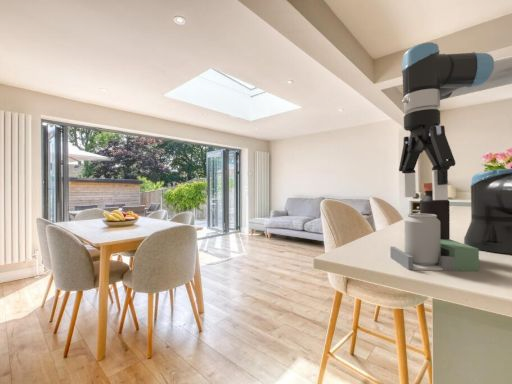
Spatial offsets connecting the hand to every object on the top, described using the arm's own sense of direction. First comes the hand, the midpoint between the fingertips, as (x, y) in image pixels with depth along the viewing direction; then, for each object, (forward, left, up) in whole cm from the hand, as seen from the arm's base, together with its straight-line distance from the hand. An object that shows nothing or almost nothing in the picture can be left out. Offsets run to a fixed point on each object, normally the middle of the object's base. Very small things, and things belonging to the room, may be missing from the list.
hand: (423, 198), depth 63 cm
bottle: (-8, -9, -16) cm, 20 cm away
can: (0, 0, -16) cm, 16 cm away
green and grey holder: (-2, 0, -16) cm, 16 cm away
